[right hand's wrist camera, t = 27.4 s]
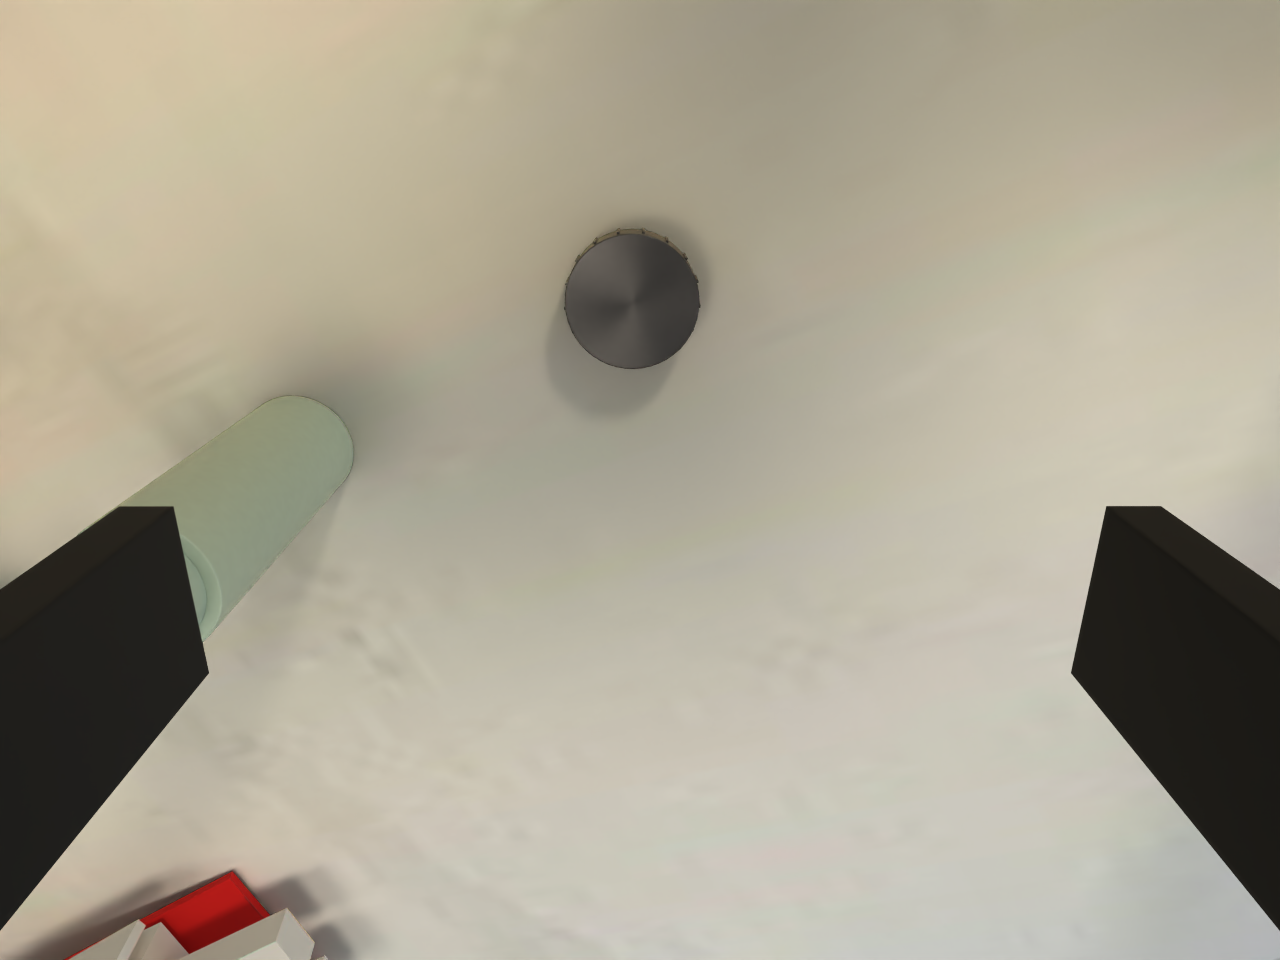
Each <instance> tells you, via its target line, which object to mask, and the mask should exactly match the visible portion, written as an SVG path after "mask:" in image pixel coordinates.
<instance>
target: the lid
mask: <svg viewBox="0 0 1280 960" xmlns="http://www.w3.org/2000/svg"><path fill="white" fill-rule="evenodd" d="M575 261H576V264H575V266H574V268H573V270H572V272H571V274H570V277H568V279H567V281H566V284H565V285H567V286H566V293H565V307H564V309H565V310H566V315H567V319H568V323H569V325H570V328H571V330H572V333H573V334H574V336H575V338H576V339H577V340H578V342H579V343H580V344H581V346H582V347H583V348H584V349H585V350H586V351H587V352H589V353H590V354H591V355H592V356H593V357H595V358H597V359H598V360H600V361H602V362H604V363H606V364H608V365H612V366H615V367H619V368H625V369H639V368H645V367H650V366H653V365H656V364H659V363H661V362H663V361H665V360H667V359H668V358H669V357H671V356H672V355H674V354H675V353H676V352H677V351H678V350H679V349H680V348H681V347H682V346H683V345H684V344H685V343H686V341H687V340H688V338H689V337H690V335H691V333H692V332H693V330H694V327H695V324H696V321H697V317H698V312H699V308H700V303H699V291H698V286H697V283H698V279H697V277H696V275H694V274H693V271H692V269H691V267H690V265H689V263H688V261H687V256H686V254H685V253H683V254H682V252H681V251H680V250H679V249H678V248H677V247H676V246H675V245H674V244H673V243H671V242H670V241H669V240H668V237H665V238H664V237H662V236H660V235H658V234H656V233H653V232H650V231H645V228H642V230H640V229H625V230H620V228H619V229H617V231H615V232H612V233H609V234H607V235H605V236H603V237H601V238H599V239H598V238H595V240H594V242H593V243H592V244H591V245H590V246H589V247H588V248H587V249H586V250H585V251H584V252H583V253H582V255H581V256H580V255H578V257H577V259H576V260H575Z"/></svg>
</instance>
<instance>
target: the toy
mask: <svg viewBox="0 0 1280 960" xmlns="http://www.w3.org/2000/svg"><path fill="white" fill-rule="evenodd" d="M314 945H315V942H314V941H313V940H312V938H311V937H310V936H309V935H308V933H307V932H306V931H305V930H304V928H303V927H302V926H301V925H300V923H299V922H298V921H297V920H296V918H295V917H294V916H293V915H292V913H291V912H290V911H289V910H288V908H285V909H283V910H281V911H279V912H277V913H275V914H273V915H271V916H270V915H269V913H268V912H267V911H266V910H265V909H264V908H263V906H262V905H261V904H260V903H259V902H258V901H257V899H256V898H255V897H254V896H253V895H252V894H251V892H250V891H249V890H248V889H247V888H246V887H245V885H244V884H243V883H242V882H241V881H240V880H239V878H238V877H237V876H236V875H235V874H234V873H233V871H232V872H230V873H228V874H226V875H224V876H223V877H221V878H219V879H217V880H215V881H213V882H211V883H209V884H207V885H205V886H203V887H202V888H200V889H198V890H196V891H194V892H192V893H190V894H188V895H186V896H184V897H182V898H180V899H179V900H177V901H175V902H173V903H171V904H169V905H167V906H165V907H163V908H161V909H159V910H158V911H156V912H154V913H152V914H150V915H148V916H146V917H144V918H142V919H140V920H139V919H138V920H136V921H134V922H133V923H131V924H129V925H127V926H126V927H124V928H122V929H121V930H119V931H117V932H115V933H114V934H112V935H110V936H108V937H106V938H104V939H102V940H100V941H98V942H96V943H94V944H93V945H91V946H89V947H87V948H85V949H83V950H81V951H79V952H77V953H75V954H73V955H72V956H70V957H68V958H66V959H64V960H310V959H311V955H312V952H313V948H314ZM316 960H328V958H327V957H326V956H325V955H324V956H322V957H320V958H318V959H316Z"/></svg>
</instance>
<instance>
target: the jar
mask: <svg viewBox="0 0 1280 960" xmlns="http://www.w3.org/2000/svg"><path fill="white" fill-rule="evenodd" d="M353 455H354V452H353V444H352V440H351V437H350V434H349V432H348V430H347V428H346V426H345V425H344V423H343V422H342V420H341V419H340V418H339V417H338V416H337V415H336V414H335V413H334V412H333V411H332V410H330V409H329V408H328V407H326V406H325V405H323V404H321V403H320V402H317V401H315V400H313V399H309V398H306V397H301V396H282V397H278V398H275V399H272V400H270V401H268V402H266V403H264V404H263V405H261V406H260V407H258V408H257V409H256V410H254V411H253V412H251V413H250V414H248V415H247V416H246V417H244V418H243V419H241V420H240V421H238V422H237V423H236V424H234V425H233V426H231V427H230V428H228V429H227V430H225V431H224V432H223V433H221V434H220V435H218V436H217V437H215V438H214V439H213V440H211V441H210V442H208V443H207V444H205V445H204V446H203V447H201V448H200V449H198V450H197V451H195V452H194V453H193V454H191V455H190V456H188V457H187V458H185V459H184V460H183V461H181V462H180V463H178V464H177V465H175V466H174V467H173V468H171V469H170V470H168V471H167V472H165V473H164V474H163V475H161V476H160V477H158V478H157V479H155V480H154V481H152V482H151V483H150V484H148V485H147V486H145V487H144V488H142V489H141V490H140V491H138V492H137V493H135V494H134V495H132V496H131V497H130V498H128V499H127V500H125V501H124V502H122V503H121V504H120V505H118V506H117V507H119V506H174V511H175V515H176V520H177V525H178V529H179V534H180V539H181V544H182V548H183V553H184V558H185V562H186V567H187V572H188V577H189V581H190V586H191V591H192V595H193V600H194V605H195V610H196V614H197V619H198V624H199V628H200V633H201V638H202V642H203V641H204V640H205V639H206V638H208V637H209V636H210V634H211V633H212V632H213V631H214V630H215V629H216V628H217V626H218V625H219V624H220V623H221V622H222V621H223V620H224V618H225V617H226V616H227V615H228V614H229V613H230V611H231V610H232V609H233V608H234V607H235V606H236V605H237V603H238V602H239V601H240V600H241V599H242V598H243V597H244V595H245V594H246V593H247V592H248V591H249V590H250V588H251V587H252V586H253V585H254V584H255V583H256V582H257V580H258V579H259V578H260V577H261V576H262V575H263V574H264V572H265V571H266V570H267V569H268V568H269V567H270V565H271V564H272V563H273V562H274V561H275V560H276V559H277V557H278V556H279V555H280V554H281V553H282V552H283V551H284V549H285V548H286V547H287V546H288V545H289V544H290V543H291V541H292V540H293V539H294V538H295V537H296V536H297V534H298V533H299V532H300V531H301V530H302V529H303V528H304V526H305V525H306V524H307V523H308V522H309V521H310V520H311V518H312V517H313V516H314V515H315V514H316V513H317V511H318V510H319V509H320V508H321V507H322V506H323V505H324V503H325V502H326V501H327V500H328V499H329V498H330V497H331V495H332V494H333V493H334V492H335V491H336V490H337V488H338V487H339V486H340V485H341V484H342V483H343V481H344V480H345V479H346V478H347V476H348V474H349V472H350V470H351V467H352V463H353ZM117 507H115V508H114V509H112V510H111V511H110V512H112V511H113V510H115V509H116V508H117ZM110 512H108V513H107V514H109V513H110ZM107 514H105V515H104V516H102V517H101V518H100V519H102V518H103V517H105V516H106V515H107ZM100 519H98V520H97V521H99V520H100ZM97 521H95V522H94V523H92V524H91V525H90V526H92V525H93V524H95V523H96V522H97ZM90 526H88V527H87V528H89V527H90ZM87 528H85V529H84V530H83V531H85V530H86V529H87ZM83 531H81V532H80V533H82V532H83ZM80 533H79V534H80ZM79 534H78V535H79ZM78 535H77V536H78Z"/></svg>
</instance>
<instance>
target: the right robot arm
mask: <svg viewBox="0 0 1280 960" xmlns="http://www.w3.org/2000/svg"><path fill="white" fill-rule="evenodd" d="M208 674H209V671H208V666H207V661H206V657H205V652H204V647H203V643H202V638H201V633H200V628H199V624H198V619H197V614H196V610H195V605H194V600H193V595H192V591H191V586H190V581H189V577H188V572H187V567H186V562H185V558H184V553H183V548H182V544H181V539H180V534H179V529H178V525H177V520H176V515H175V511H174V506H119V507H117V508H116V509H115V510H113V511H112V512H110V513H109V514H107V515H106V516H105V517H103V518H102V519H100V520H99V521H97V522H96V523H95V524H93V525H92V526H90V527H89V528H87V529H86V530H85V531H83V532H82V533H80V534H79V535H78V536H76V537H75V538H73V539H72V540H70V541H69V542H68V543H66V544H65V545H63V546H62V547H60V548H59V549H58V550H56V551H55V552H53V553H52V554H50V555H49V556H48V557H46V558H45V559H43V560H42V561H40V562H39V563H38V564H36V565H35V566H33V567H32V568H30V569H29V570H28V571H26V572H25V573H23V574H22V575H20V576H19V577H18V578H16V579H15V580H13V581H12V582H11V583H9V584H8V585H6V586H5V587H3V588H2V589H1V590H0V930H1V929H2V928H3V927H4V925H5V924H6V923H7V922H8V920H9V919H10V918H11V917H12V915H13V914H14V913H15V912H16V911H17V909H18V908H19V907H20V906H21V904H22V903H23V902H24V901H25V899H26V898H27V897H28V896H29V895H30V893H31V892H32V891H33V890H34V888H35V887H36V886H37V885H38V883H39V882H40V881H41V880H42V878H43V877H44V876H45V875H46V874H47V872H48V871H49V870H50V869H51V867H52V866H53V865H54V864H55V862H56V861H57V860H58V859H59V857H60V856H61V855H62V854H63V853H64V851H65V850H66V849H67V848H68V846H69V845H70V844H71V843H72V841H73V840H74V839H75V838H76V836H77V835H78V834H79V833H80V832H81V830H82V829H83V828H84V827H85V825H86V824H87V823H88V822H89V820H90V819H91V818H92V817H93V815H94V814H95V813H96V812H97V811H98V809H99V808H100V807H101V806H102V804H103V803H104V802H105V801H106V799H107V798H108V797H109V796H110V795H111V793H112V792H113V791H114V790H115V788H116V787H117V786H118V785H119V783H120V782H121V781H122V780H123V778H124V777H125V776H126V775H127V774H128V772H129V771H130V770H131V769H132V767H133V766H134V765H135V764H136V762H137V761H138V760H139V759H140V757H141V756H142V755H143V754H144V753H145V751H146V750H147V749H148V748H149V746H150V745H151V744H152V743H153V741H154V740H155V739H156V738H157V736H158V735H159V734H160V733H161V732H162V730H163V729H164V728H165V727H166V725H167V724H168V723H169V722H170V720H171V719H172V718H173V717H174V716H175V714H176V713H177V712H178V711H179V709H180V708H181V707H182V706H183V704H184V703H185V702H186V701H187V699H188V698H189V697H190V696H191V695H192V693H193V692H194V691H195V690H196V688H197V687H198V686H199V685H200V683H201V682H202V681H203V680H204V678H205V677H206V676H207V675H208ZM1071 674H1072V675H1073V676H1074V677H1075V678H1076V680H1077V681H1078V682H1079V683H1080V685H1081V686H1082V687H1083V688H1084V690H1085V691H1086V692H1087V693H1088V695H1089V696H1090V697H1091V698H1092V699H1093V701H1094V702H1095V703H1096V704H1097V706H1098V707H1099V708H1100V709H1101V711H1102V712H1103V713H1104V714H1105V716H1106V717H1107V718H1108V719H1109V720H1110V722H1111V723H1112V724H1113V725H1114V727H1115V728H1116V729H1117V730H1118V732H1119V733H1120V734H1121V735H1122V736H1123V738H1124V739H1125V740H1126V741H1127V743H1128V744H1129V745H1130V746H1131V748H1132V749H1133V750H1134V751H1135V753H1136V754H1137V755H1138V756H1139V757H1140V759H1141V760H1142V761H1143V762H1144V764H1145V765H1146V766H1147V767H1148V769H1149V770H1150V771H1151V772H1152V774H1153V775H1154V776H1155V777H1156V778H1157V780H1158V781H1159V782H1160V783H1161V785H1162V786H1163V787H1164V788H1165V790H1166V791H1167V792H1168V793H1169V795H1170V796H1171V797H1172V798H1173V799H1174V801H1175V802H1176V803H1177V804H1178V806H1179V807H1180V808H1181V809H1182V811H1183V812H1184V813H1185V814H1186V816H1187V817H1188V818H1189V819H1190V820H1191V822H1192V823H1193V824H1194V825H1195V827H1196V828H1197V829H1198V830H1199V832H1200V833H1201V834H1202V835H1203V836H1204V838H1205V839H1206V840H1207V841H1208V843H1209V844H1210V845H1211V846H1212V848H1213V849H1214V850H1215V851H1216V853H1217V854H1218V855H1219V856H1220V857H1221V859H1222V860H1223V861H1224V862H1225V864H1226V865H1227V866H1228V867H1229V869H1230V870H1231V871H1232V872H1233V874H1234V875H1235V876H1236V877H1237V878H1238V880H1239V881H1240V882H1241V883H1242V885H1243V886H1244V887H1245V888H1246V890H1247V891H1248V892H1249V893H1250V895H1251V896H1252V897H1253V898H1254V899H1255V901H1256V902H1257V903H1258V904H1259V906H1260V907H1261V908H1262V909H1263V911H1264V912H1265V913H1266V914H1267V915H1268V917H1269V918H1270V919H1271V920H1272V922H1273V923H1274V924H1275V925H1276V927H1277V928H1278V929H1279V930H1280V590H1279V589H1278V588H1277V587H1275V586H1274V585H1272V584H1271V583H1269V582H1268V581H1267V580H1265V579H1264V578H1262V577H1261V576H1260V575H1258V574H1257V573H1255V572H1254V571H1252V570H1251V569H1250V568H1248V567H1247V566H1245V565H1244V564H1242V563H1241V562H1240V561H1238V560H1237V559H1235V558H1234V557H1232V556H1231V555H1230V554H1228V553H1227V552H1225V551H1224V550H1222V549H1221V548H1220V547H1218V546H1217V545H1215V544H1214V543H1212V542H1211V541H1210V540H1208V539H1207V538H1205V537H1204V536H1202V535H1201V534H1200V533H1198V532H1197V531H1195V530H1194V529H1193V528H1191V527H1190V526H1188V525H1187V524H1185V523H1184V522H1183V521H1181V520H1180V519H1178V518H1177V517H1175V516H1174V515H1173V514H1171V513H1170V512H1168V511H1167V510H1165V509H1164V508H1163V507H1161V506H1106V511H1105V515H1104V520H1103V525H1102V529H1101V534H1100V539H1099V544H1098V548H1097V553H1096V558H1095V562H1094V567H1093V572H1092V577H1091V581H1090V586H1089V591H1088V595H1087V600H1086V605H1085V610H1084V614H1083V619H1082V624H1081V628H1080V633H1079V638H1078V643H1077V647H1076V652H1075V657H1074V661H1073V666H1072V671H1071Z"/></svg>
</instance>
